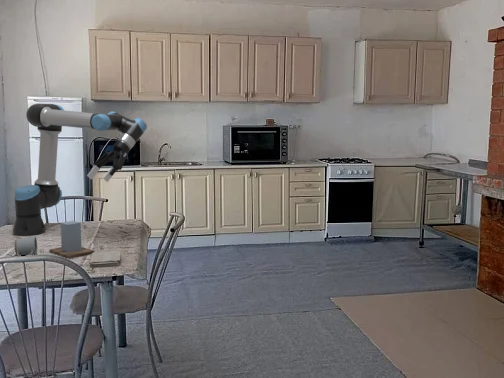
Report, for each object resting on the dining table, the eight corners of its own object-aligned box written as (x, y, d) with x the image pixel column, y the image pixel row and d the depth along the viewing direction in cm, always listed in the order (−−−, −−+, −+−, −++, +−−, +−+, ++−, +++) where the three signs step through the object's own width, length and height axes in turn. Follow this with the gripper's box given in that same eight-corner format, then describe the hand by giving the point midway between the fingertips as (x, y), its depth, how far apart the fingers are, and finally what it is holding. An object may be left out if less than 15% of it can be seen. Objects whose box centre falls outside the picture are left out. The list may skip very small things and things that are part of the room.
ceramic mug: (17, 253, 224) (16, 236, 223) (37, 252, 226) (36, 234, 225) (13, 260, 214) (12, 242, 213) (35, 258, 216) (34, 240, 215)
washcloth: (89, 269, 203) (89, 261, 202) (91, 257, 220) (90, 250, 220) (120, 267, 206) (120, 259, 205) (120, 255, 223) (120, 248, 223)
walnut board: (49, 252, 226) (49, 249, 226) (74, 247, 235) (74, 244, 235) (68, 259, 215) (68, 256, 215) (94, 253, 224) (94, 250, 224)
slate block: (61, 250, 225) (60, 222, 223) (74, 247, 229) (73, 220, 228) (68, 252, 221) (67, 224, 219) (81, 250, 225) (80, 222, 224)
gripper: (144, 151, 245) (117, 186, 236) (113, 149, 262) (88, 181, 253) (134, 140, 241) (107, 175, 232) (104, 138, 257) (77, 171, 248)
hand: (97, 178), depth 242 cm, fingers open, 13 cm apart
